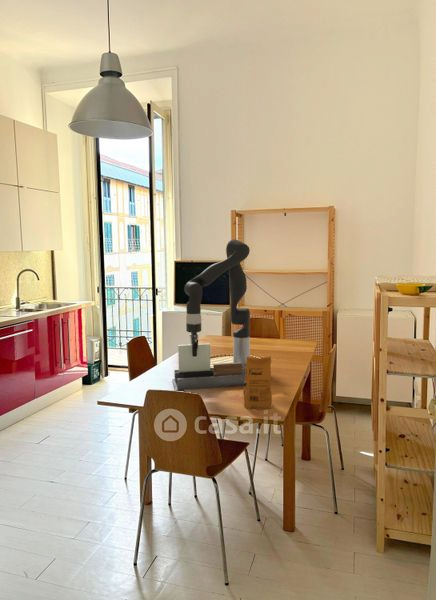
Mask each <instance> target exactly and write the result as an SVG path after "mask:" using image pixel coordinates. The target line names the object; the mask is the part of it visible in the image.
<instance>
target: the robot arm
mask: <svg viewBox="0 0 436 600" xmlns="http://www.w3.org/2000/svg"><path fill="white" fill-rule="evenodd" d="M250 251H251V250H250V247H249V245H248V244H246V243H244V242H242V241H240V240H239V239H235V238H234V239H233V238H232V239H230V240H229V241H228V242H227V244H226V248H225V253H226V258H225V259H223V260H220V261H219V262H216V263H213V264H211V265H209V266H208V267H207V268H206V269H204V270H203V271H202V272H201V273H200V274H198V275H196V276H195V277H194V278H192V279H190V280H189V281H187V282H186V284H185V285H184V288H183V290H184V293H185V295H187V296H188V301H187V302H186V317H185V322H186V323H185V324H186V328H185V329H186V332H187V333H190V334H189V340H190V341H189V342H190V344H191V345H192V356H193V357H196V356H197V349H198V344H199V335H198V333H201V332H202V314H201V311H202V309H201V303H202V300H203V299H202V298H203V288H204V287H207V286H209V285H211V284H212V283H213V282H214V281H215V280H217V279H218V278H219V277H220V276H221V275H222V274H224V273H226V272H227V271H228V276H229V277H228V278H229V279H228V283H229V284H228V285H229V293H230V294H229V295H230V296H229V297H230V322H231V324H232V325H235V326H236V325H241V326H242V327H241V328H239V329H236V330H234V331H233V332H232V336H233V337H232V339H233V343H232V344H233V345H232V347H233V351H232V352H233V353H232V355H233V361H232V363H237V362H241V363H242V366H244V367H246V365H247V364H246V363H247V357H251V356H250V353H251V351H250V348H251V347H250V346H251V345H250V342H251V341H250V322H251V312H250V309H249V308H246V307H245V308H244V307H243V308H240V307H239V308H238V304H239V303H240V301H241V300H242V299H243V297H244V295H245V294H246V292H247V289H248V288H247V285H248V283H247V277H246V274H245V271H244V270H243V267H242V265H241V263H242V262H243V261H244V260H246V259H247V258H248V256H249V254H250Z"/></svg>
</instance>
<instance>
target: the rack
mask: <svg viewBox="0 0 436 600" xmlns="http://www.w3.org/2000/svg"><path fill="white" fill-rule="evenodd" d="M242 368H243V375H228V376H214V373H213V367H210V370H204V371H187V372H179V369H174V370H173V371H174V372H173V374H174V378H172V380H171V381H172V385H173V388H174V391H175V390H176V391H184V392H185V391H189V390H192V391H193V390H204V389H205V390H206V389H220V388H222V389H223V388H235V387H244V382H245V374H246V367H245V366H242Z"/></svg>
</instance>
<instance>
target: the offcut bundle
mask: <svg viewBox="0 0 436 600" xmlns="http://www.w3.org/2000/svg"><path fill="white" fill-rule="evenodd" d="M212 366H213V367H212V368H213V373H214V376H228V375H243V368H242V363H241V362H237V363H233V362H224V363H221V362H220V363H213V365H212Z"/></svg>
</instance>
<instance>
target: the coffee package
mask: <svg viewBox="0 0 436 600" xmlns="http://www.w3.org/2000/svg"><path fill="white" fill-rule="evenodd" d="M246 364H247V365H246V366H245V368H246V374H245V382H244V386H243V392H242V393H243V395H242V396H243V402H244V403H243V405H244V406H243V407H244V408H246V409H258V410H264V409H271V408H272V403H273V396H272V371H271V369H272V368H271V367H272V366H271V364H272V357H271V356H267V357H266V356H265V357H260V358H259V357H251V356H250V357H247V363H246Z"/></svg>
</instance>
